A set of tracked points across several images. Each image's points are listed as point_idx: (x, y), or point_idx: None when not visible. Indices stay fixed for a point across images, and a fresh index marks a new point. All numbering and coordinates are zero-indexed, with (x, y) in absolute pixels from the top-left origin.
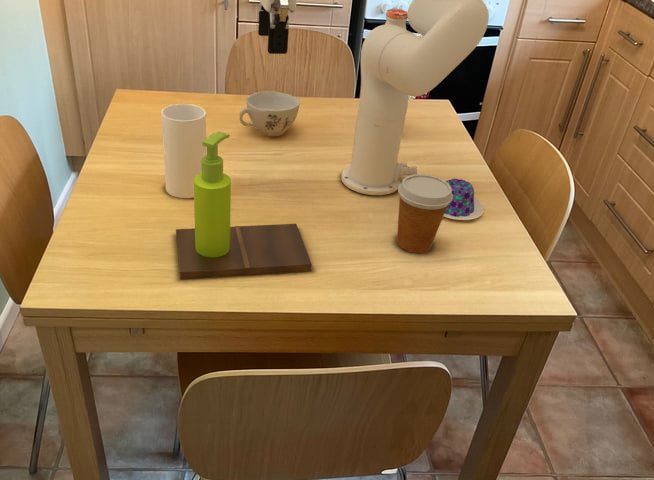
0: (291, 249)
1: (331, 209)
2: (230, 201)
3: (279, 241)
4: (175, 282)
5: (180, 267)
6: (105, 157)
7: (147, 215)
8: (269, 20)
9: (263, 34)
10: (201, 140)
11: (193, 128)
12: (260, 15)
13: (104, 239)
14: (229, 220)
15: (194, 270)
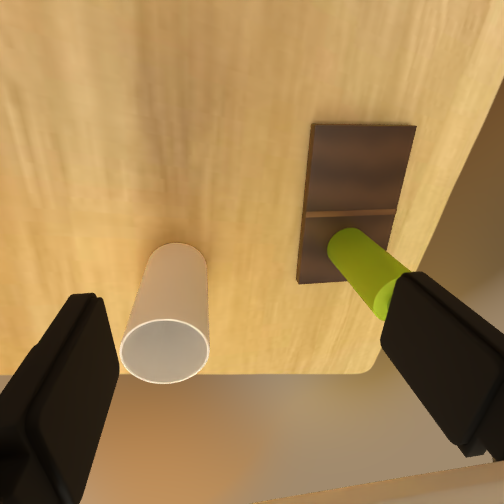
0: (377, 148)
1: (256, 33)
2: (391, 259)
3: (354, 161)
4: None
5: None
6: None
7: (246, 308)
8: (78, 405)
9: (115, 357)
10: (195, 297)
11: (206, 326)
12: (83, 485)
13: (288, 340)
14: (381, 248)
15: None
